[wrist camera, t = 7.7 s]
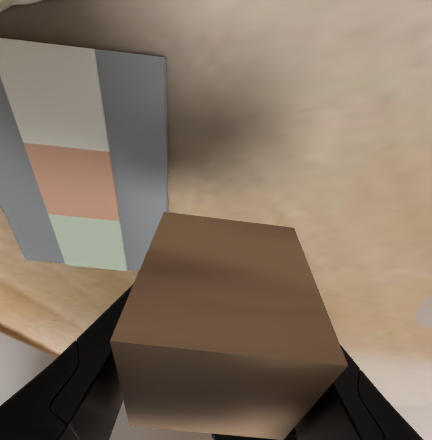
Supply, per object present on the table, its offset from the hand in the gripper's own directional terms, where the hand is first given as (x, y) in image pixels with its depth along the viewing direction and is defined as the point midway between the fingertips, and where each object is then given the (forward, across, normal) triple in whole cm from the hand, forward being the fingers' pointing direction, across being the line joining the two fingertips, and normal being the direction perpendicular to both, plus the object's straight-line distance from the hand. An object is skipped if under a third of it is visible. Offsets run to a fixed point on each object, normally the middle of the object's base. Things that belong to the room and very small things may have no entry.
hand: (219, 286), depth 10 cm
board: (+11, +11, +2) cm, 16 cm away
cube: (+1, 0, 0) cm, 1 cm away
